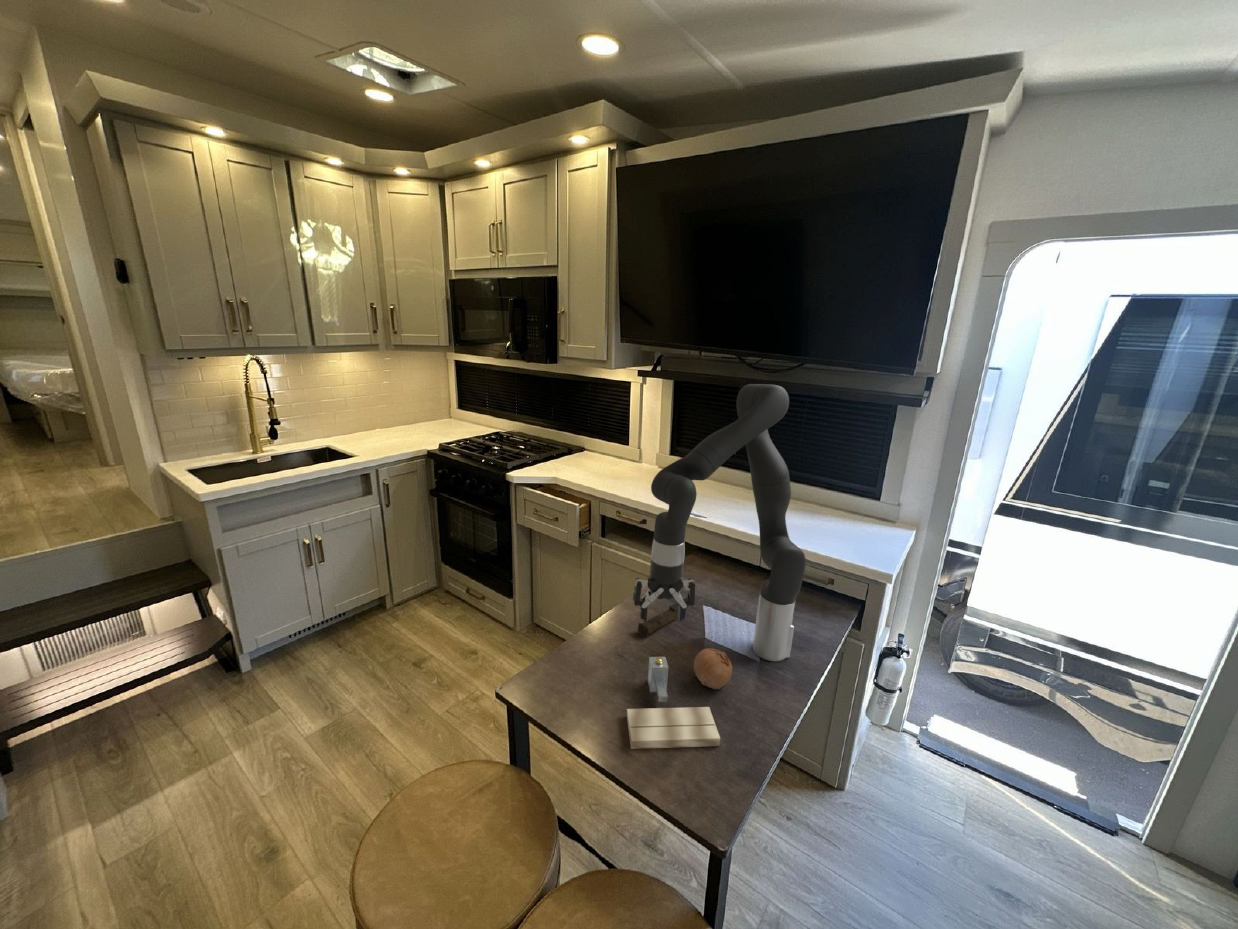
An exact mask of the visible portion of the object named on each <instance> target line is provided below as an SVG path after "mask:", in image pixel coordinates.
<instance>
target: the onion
mask: <svg viewBox="0 0 1238 929" xmlns="http://www.w3.org/2000/svg"><path fill="white" fill-rule="evenodd" d="M693 670H694V673H695V676H696V677H697V679H698V680H699V682H700V683H701V685H703V686H704V687H707V688H710V689H712V690H713V691H714V690H720V689H721V688H722V687H724V686H725V685H727V684H728V682H730V680H731V678H732V675H733V664H732V662H731V660H730V658H729V657H728V656H727V653H725V652H724V651H721V650H720V649H716V648H712V647H711V648H710V647H709V648H708V647H707V648H703V649H701V651H699V652H698V653H697V654H696V655H695V658H694V661H693Z"/></svg>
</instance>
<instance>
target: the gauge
mask: <svg viewBox="0 0 1238 929" xmlns="http://www.w3.org/2000/svg"><path fill="white" fill-rule="evenodd" d="M648 658H649V659H648V674H647V684H648V689H649V690H648V691H649V692H650V693H656V694H657V699H658V702H668V700H669V699H668V698H669V696H668V692H667V691H668V690H667V685H668V679H669V678H668V676H669V675H668V674H669V665H668V661H667V657H666V656H649V657H648Z"/></svg>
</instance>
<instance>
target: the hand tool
mask: <svg viewBox="0 0 1238 929" xmlns="http://www.w3.org/2000/svg"><path fill="white" fill-rule="evenodd" d="M678 606H679V603H678V602H677V601H676V602H675V603H673V604H670V606H669V607H668V609H666V610H665V611H663V612H661V613H659V614H657V615H656V616H654V617H652V618H650V619H647V621H646V622H639V623H638V625H637V632H638V634H639V635H641V637H644V638H648V637H649V636H651V634H652V633H653V632H655V631H656V630H659V629H660V628H662V627H663V626H665V625H667V624H669V623H670V622H672V621H673V622H676V621H677V620H678Z"/></svg>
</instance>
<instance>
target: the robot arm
mask: <svg viewBox="0 0 1238 929" xmlns="http://www.w3.org/2000/svg"><path fill="white" fill-rule="evenodd" d="M789 406H790V397H789V393H788V392H787V391H786V389H785V388H784V387H783V386H780V385H778V384H777V385H776V384H770V383H769V384H768V383H767V384H765V383H748V384H746V385H743V386H742V387H741V388H740V389H739V391H738V394H737V397H736V412H737V416H738V419H737V420H735V421H733V422H732V423H730V424H728V425H726V426H724V427H723V428H721V429H718V430H717V431H714V432H712V433H711V434H710V435H708V436H706V437H705V438H704V439H703V440H701V441H700V442H699V443H698V444H697V445H696V446H695V447H694V448H692V450H690V451H689V453H688V454H686V455H685V456H684V457H682V458H679V459H677V460H676V461H674V462H672V463H670V464H668V465H667V466H664V468H662V469H661V470H659V471H658V472H657V474H656V475H655V476H654V477H653V480H652V482H651V486H650V490H651V494H652V495H653V497H654V498H655V499H657V500H658V501H660V502H663V503H665V504H667V505H668V510H667V511H662V512H660V513H658V514H657V515H656V518H655V520H654V529H653V540H652V545H651V553H650V554H651V555H650V564H649V565H650V567H649V568H650V569H649V576H648V579H647V580H646V579H641V578H640V577H636V578H635V582H634V588H633V596H632V600H633V604H634V606H635V607H637V606H638V607H640V609H639V616H640V620H642V621H643V622H642V623H644V622H646V621H648V606H649V605H650V604H651V603H653V602H654V601H655V600H656V599H657V600H662V599H663V600H664V599H667V600H672V599H673V598H674V599H675V601H676V603H677V602H678V603H679V606H678V619H677V620H678V622H680V623H681V622H683V620H685V618H686V612H687V607H689V606H691V607H693V606H695V600H696V583H695V582H694V579H693V578H692V577H689V578H688V579H687V580H683V573H684V572H683V571H684V561H685V557H686V553H685V550H686V547H685V546H686V545H685V540H686V530H687V524H688V521H689V520H690V516H691V514H692V512H693V508H694V506H695V504H696V500H697V488H696V485H695V483H694V481H701V482H702V481H705V480H707V479H708V478H710V477H711V476H712V475H714V473H715V472H716V471H717V470H718V469H719V468H721V466H722V465H723V464H724V463H726V461H727V460H728V459H730V458H731V457H732V456H733V455H734V454H735V453H736V452H738V451H739V450H740V449H742V448H743V447H744V446H745V447H746V448H745V449H746V453H747V458H748V464H749V469H750V470H749V471H750V477H751V478H750V479H751V485H752V491H753V496H754V497H753V498H754V502H755V503H754V504H755V509H756V514H757V518H758V525H759V526H758V528H759V551H760V556H761V559H762V561H763V563H764V565H766V566H767V567H768V569H769V570H770V576H769V579H767V580H765V581H762V583H761V585H760V591H759V598H758V605H757V613H756V619H755V620H756V621H755V625H754V626H755V627H754V633H753V641H752V651H753V652H754V654H756V655H757V656H758V657H759V658H761V659H763V660H767V661H770V662H781V661H784V660H785V659H786V658H790V657H791V650H792V645H793V638H794V631H795V626H794V625H793V618H794V616H793V615H794V611H795V607H796V606H795V605H796V600H797V596H798V595H799V593H800V592H801V588H802V584H803V579H804V576H805V575H804V574H805V571H806V563H807V562H806V561H807V560H806V556H805V553H804V552H803V550H802V549H800V547H798V546H797V545H796V544H795V543H794V542H793V541H792V540H791V539H790V536H789V532H788V528H787V521H786V516H787V515H786V514H787V511H788V509H789V505H790V501H791V498H792V485H791V480H790V473H789V468H788V466H787V464H786V462H785V460H784V458H783V456H782V455H781V453H780V452H779V450H778V449H777V448H776V446H775V444H774V443H773V440H772V439H771V437H770V434H769V429H770V428H771V427H773V426H774V425H776V424H777V423H778V422H780V420H783V418H784V416H785V415H786V414H787V412H788V410H789V408H790V407H789ZM646 587H647V588H648V589H647V591H646V592H645V594H644V595H643V596H642V597H641V594H642V591H644V589H645V588H646ZM683 588H685V590H686V591H687V594H686V595H687V596H686V598H684V597H683V596H682V594H681V593H680V591H681V590H682V589H683Z"/></svg>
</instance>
